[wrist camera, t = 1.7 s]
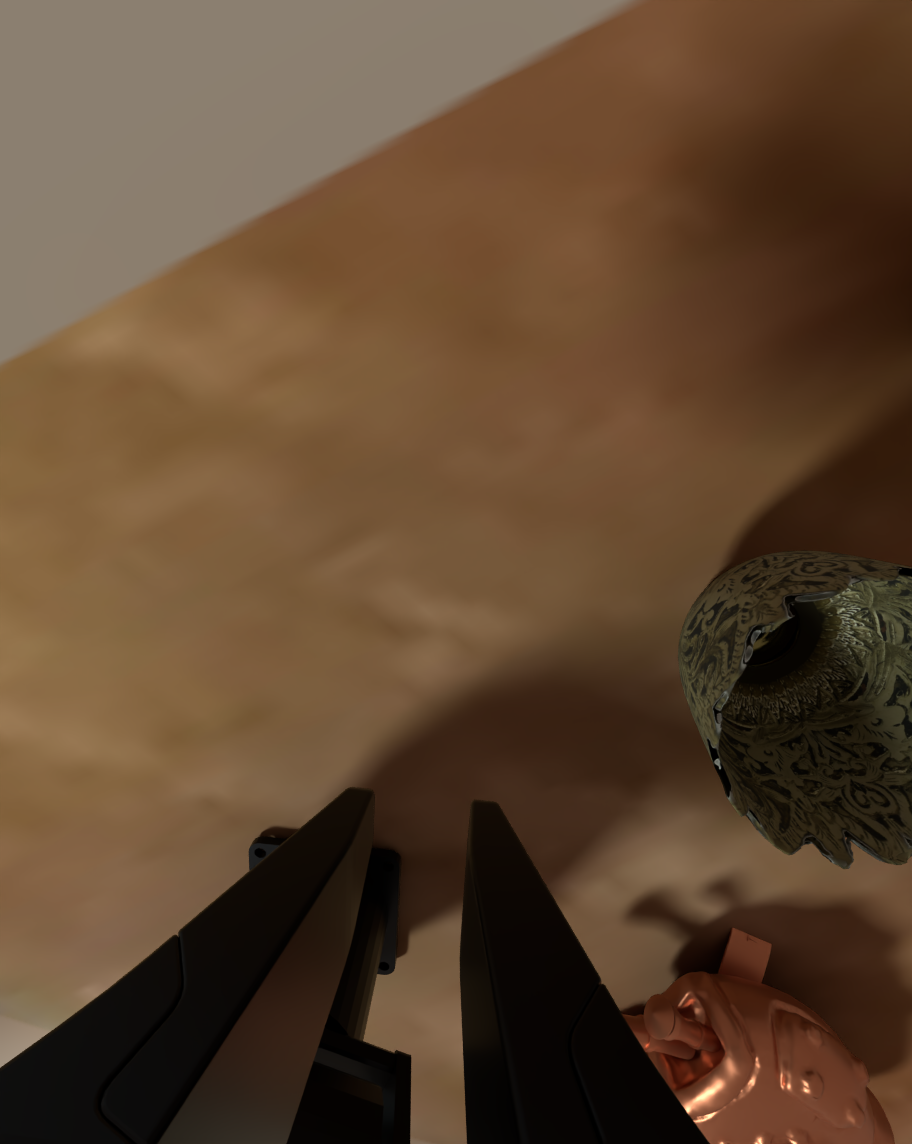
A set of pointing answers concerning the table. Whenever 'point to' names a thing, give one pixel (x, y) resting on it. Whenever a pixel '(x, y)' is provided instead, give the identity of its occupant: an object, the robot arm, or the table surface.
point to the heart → (756, 1059)
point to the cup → (808, 699)
